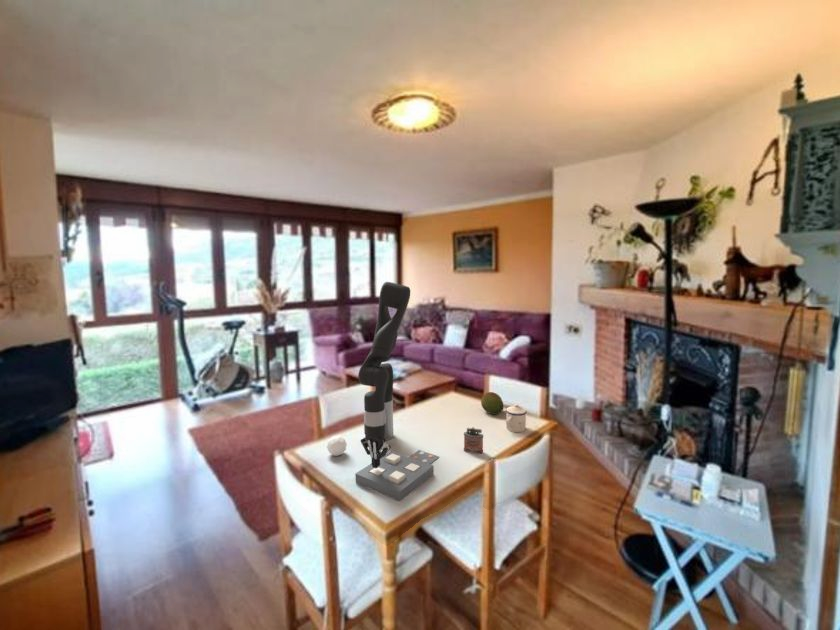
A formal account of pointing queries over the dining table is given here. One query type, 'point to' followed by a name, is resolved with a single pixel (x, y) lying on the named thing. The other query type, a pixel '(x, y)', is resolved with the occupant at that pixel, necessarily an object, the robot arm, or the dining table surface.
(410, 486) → the button box
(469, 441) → the lighter
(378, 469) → the button
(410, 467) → the button
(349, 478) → the dining table surface
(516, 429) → the teacup with lid
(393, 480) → the button
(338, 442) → the geometric ball
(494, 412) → the fruit
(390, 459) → the button
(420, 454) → the pattern card
